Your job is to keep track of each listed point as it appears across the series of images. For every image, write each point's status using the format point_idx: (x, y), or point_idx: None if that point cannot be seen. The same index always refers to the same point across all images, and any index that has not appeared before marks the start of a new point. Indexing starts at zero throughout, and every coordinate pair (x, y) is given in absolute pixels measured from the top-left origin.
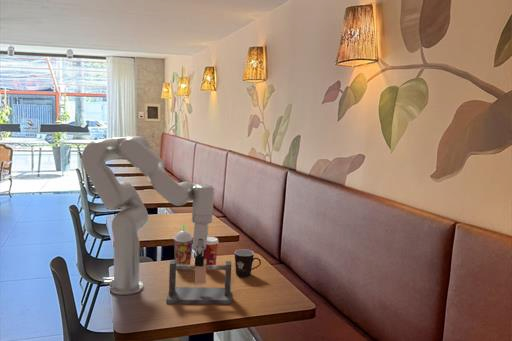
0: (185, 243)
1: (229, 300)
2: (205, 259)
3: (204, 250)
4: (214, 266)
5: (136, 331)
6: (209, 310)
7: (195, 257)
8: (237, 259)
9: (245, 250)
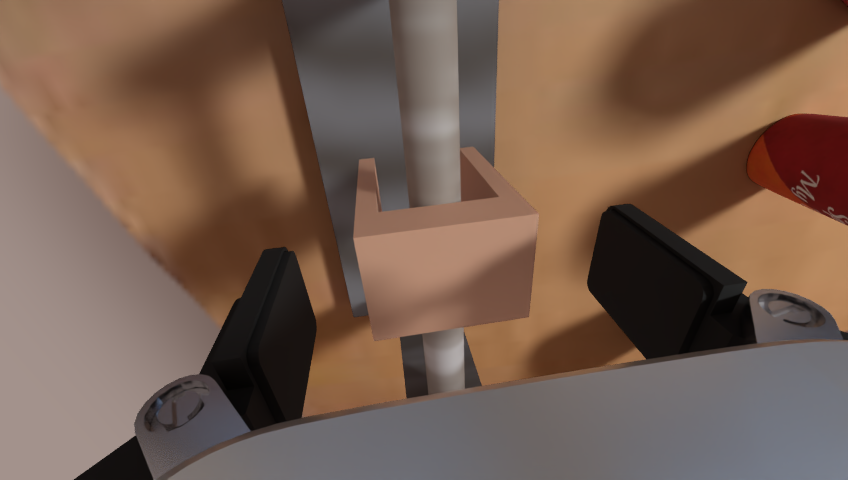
0: None
1: (352, 308)
2: (511, 311)
3: (640, 345)
4: (433, 356)
5: None
6: (259, 226)
7: (227, 339)
8: None
9: None
